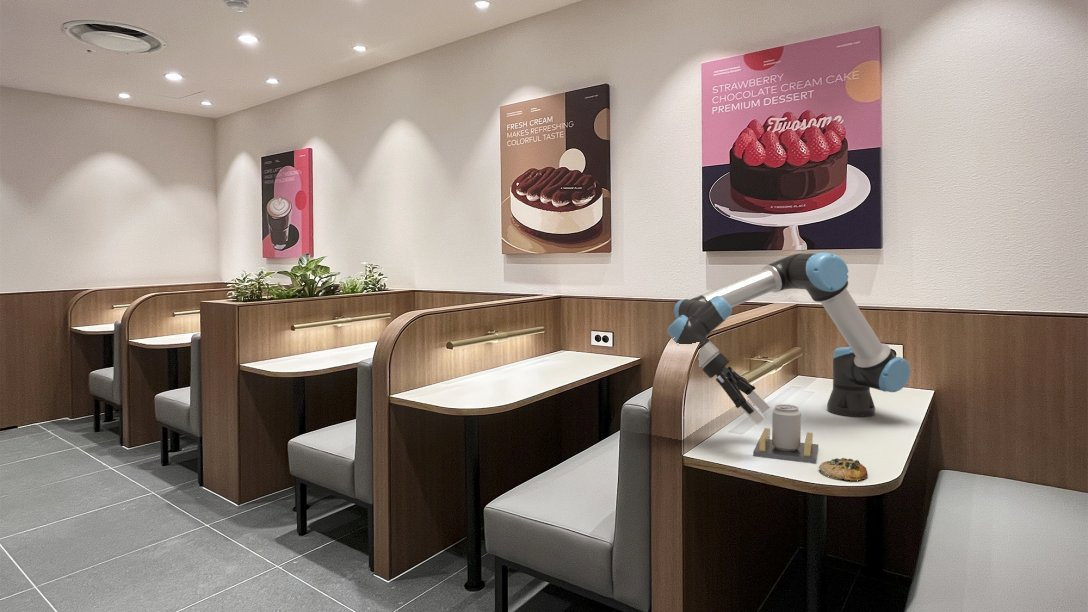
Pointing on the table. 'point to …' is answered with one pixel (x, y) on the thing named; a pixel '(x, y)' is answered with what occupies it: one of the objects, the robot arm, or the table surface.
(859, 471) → the bread roll
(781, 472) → the table surface
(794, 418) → the can
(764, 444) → the holder plate
